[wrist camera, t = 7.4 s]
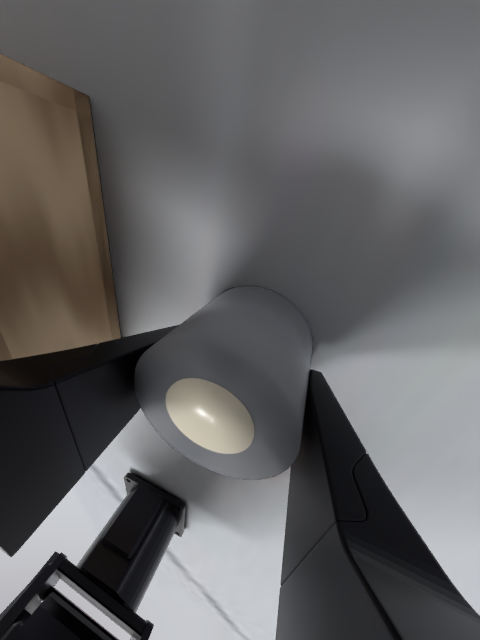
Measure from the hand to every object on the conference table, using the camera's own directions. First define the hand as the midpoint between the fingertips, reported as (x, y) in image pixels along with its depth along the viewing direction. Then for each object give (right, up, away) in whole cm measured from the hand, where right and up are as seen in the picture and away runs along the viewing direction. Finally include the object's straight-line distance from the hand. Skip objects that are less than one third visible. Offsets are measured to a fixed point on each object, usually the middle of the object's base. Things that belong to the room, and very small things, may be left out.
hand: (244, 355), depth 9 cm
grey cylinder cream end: (0, 0, +1) cm, 1 cm away
